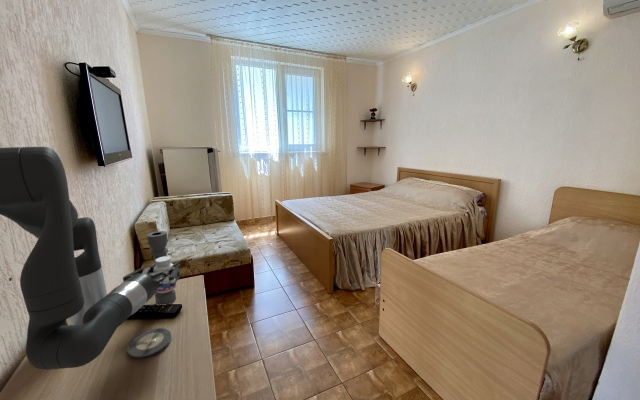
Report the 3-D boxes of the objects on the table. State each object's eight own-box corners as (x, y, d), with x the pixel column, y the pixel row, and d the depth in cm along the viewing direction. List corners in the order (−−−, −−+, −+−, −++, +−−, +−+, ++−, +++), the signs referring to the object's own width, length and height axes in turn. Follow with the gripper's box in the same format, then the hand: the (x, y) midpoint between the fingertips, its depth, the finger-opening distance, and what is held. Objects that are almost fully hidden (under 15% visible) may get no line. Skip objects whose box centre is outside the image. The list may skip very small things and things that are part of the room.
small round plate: (119, 353, 69) (118, 349, 68) (153, 328, 78) (153, 325, 78) (146, 363, 66) (146, 359, 65) (179, 336, 75) (179, 332, 74)
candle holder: (161, 296, 95) (151, 231, 89) (179, 295, 95) (170, 230, 90) (152, 306, 89) (141, 237, 83) (171, 305, 89) (162, 236, 84)
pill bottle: (167, 294, 76) (163, 263, 74) (151, 292, 77) (147, 262, 75) (180, 285, 81) (177, 256, 79) (165, 283, 82) (162, 254, 80)
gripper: (158, 281, 63) (190, 253, 80) (98, 282, 63) (143, 253, 80) (162, 309, 65) (193, 275, 81) (103, 309, 64) (146, 276, 81)
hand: (168, 265), depth 80 cm, fingers closed on pill bottle, 5 cm apart
